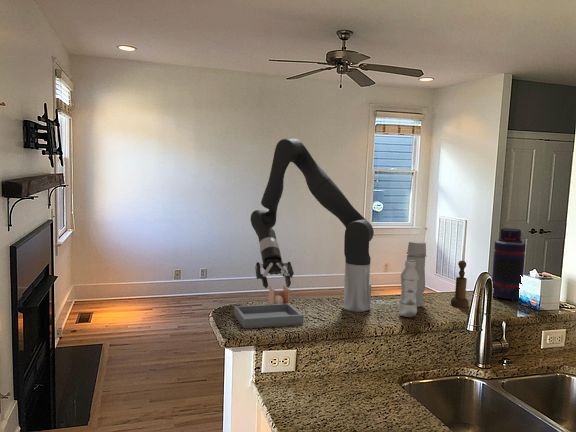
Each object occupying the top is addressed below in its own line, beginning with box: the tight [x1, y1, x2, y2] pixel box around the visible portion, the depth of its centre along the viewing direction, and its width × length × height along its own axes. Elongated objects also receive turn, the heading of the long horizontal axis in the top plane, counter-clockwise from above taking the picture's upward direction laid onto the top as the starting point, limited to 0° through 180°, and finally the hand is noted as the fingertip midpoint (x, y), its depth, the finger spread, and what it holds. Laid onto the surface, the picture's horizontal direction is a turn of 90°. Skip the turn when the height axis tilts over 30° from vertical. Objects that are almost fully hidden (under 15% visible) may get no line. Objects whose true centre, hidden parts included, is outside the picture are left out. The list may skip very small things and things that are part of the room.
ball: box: [275, 295, 283, 304], centre depth 171 cm, size 4×4×4 cm
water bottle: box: [406, 240, 428, 308], centre depth 181 cm, size 9×8×25 cm
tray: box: [233, 302, 305, 329], centre depth 156 cm, size 20×15×3 cm
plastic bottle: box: [397, 260, 419, 318], centre depth 165 cm, size 6×7×20 cm
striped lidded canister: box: [491, 227, 526, 302], centre depth 199 cm, size 14×12×30 cm
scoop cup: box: [268, 285, 291, 304], centre depth 171 cm, size 6×6×8 cm
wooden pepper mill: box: [450, 260, 470, 308], centre depth 183 cm, size 7×6×18 cm
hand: (277, 286), depth 173 cm, fingers open, 8 cm apart
